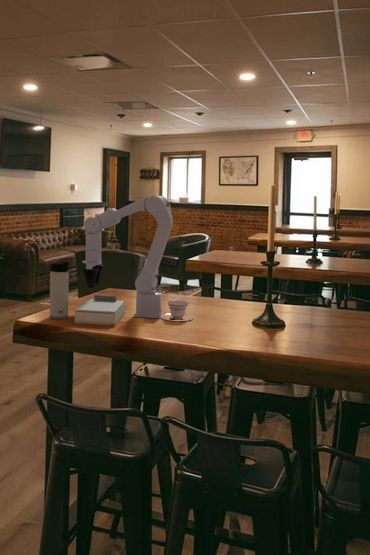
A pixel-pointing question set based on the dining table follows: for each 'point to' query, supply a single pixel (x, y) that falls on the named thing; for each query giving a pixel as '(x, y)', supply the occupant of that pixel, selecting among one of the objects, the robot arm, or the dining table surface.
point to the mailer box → (99, 317)
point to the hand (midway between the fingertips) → (93, 285)
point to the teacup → (177, 309)
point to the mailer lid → (101, 304)
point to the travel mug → (59, 290)
